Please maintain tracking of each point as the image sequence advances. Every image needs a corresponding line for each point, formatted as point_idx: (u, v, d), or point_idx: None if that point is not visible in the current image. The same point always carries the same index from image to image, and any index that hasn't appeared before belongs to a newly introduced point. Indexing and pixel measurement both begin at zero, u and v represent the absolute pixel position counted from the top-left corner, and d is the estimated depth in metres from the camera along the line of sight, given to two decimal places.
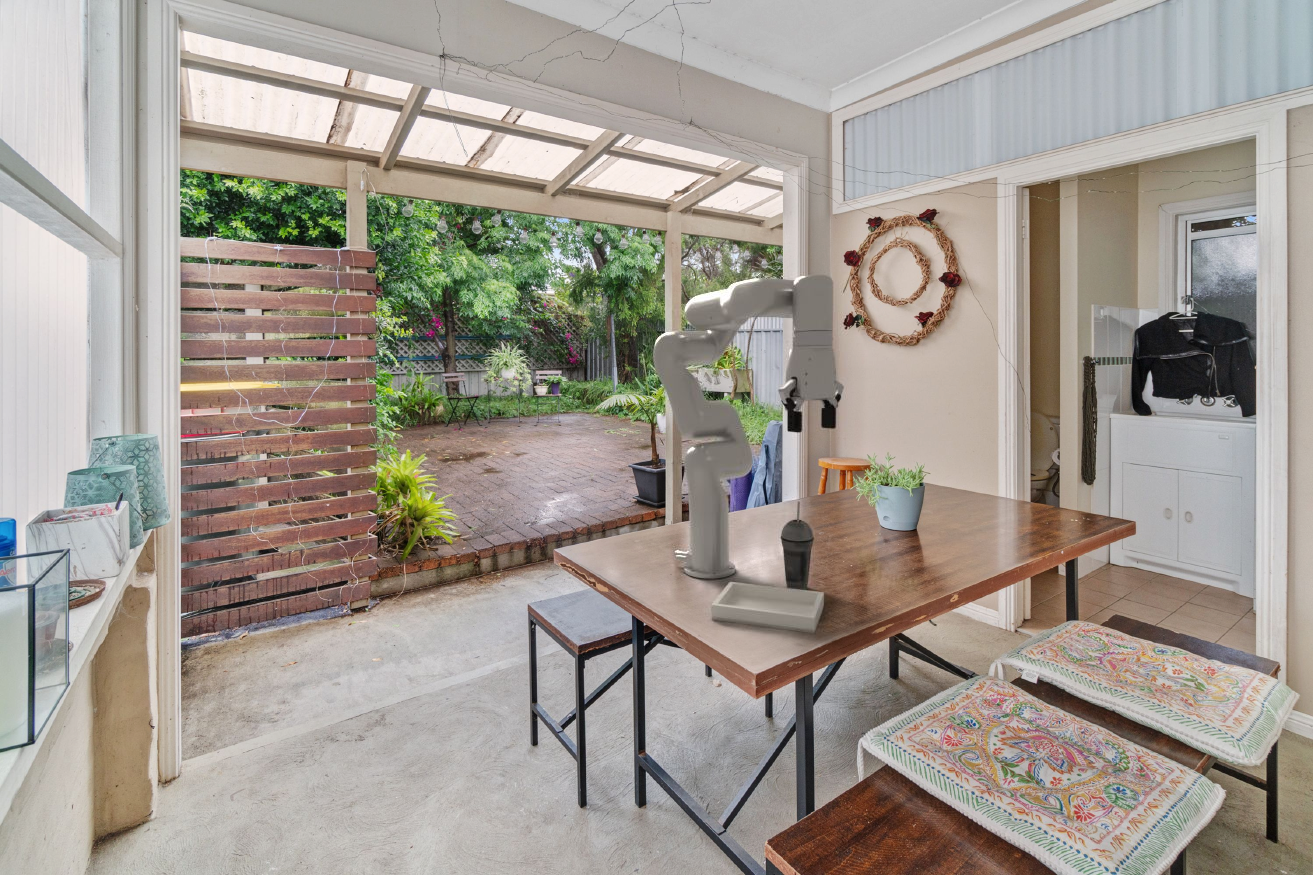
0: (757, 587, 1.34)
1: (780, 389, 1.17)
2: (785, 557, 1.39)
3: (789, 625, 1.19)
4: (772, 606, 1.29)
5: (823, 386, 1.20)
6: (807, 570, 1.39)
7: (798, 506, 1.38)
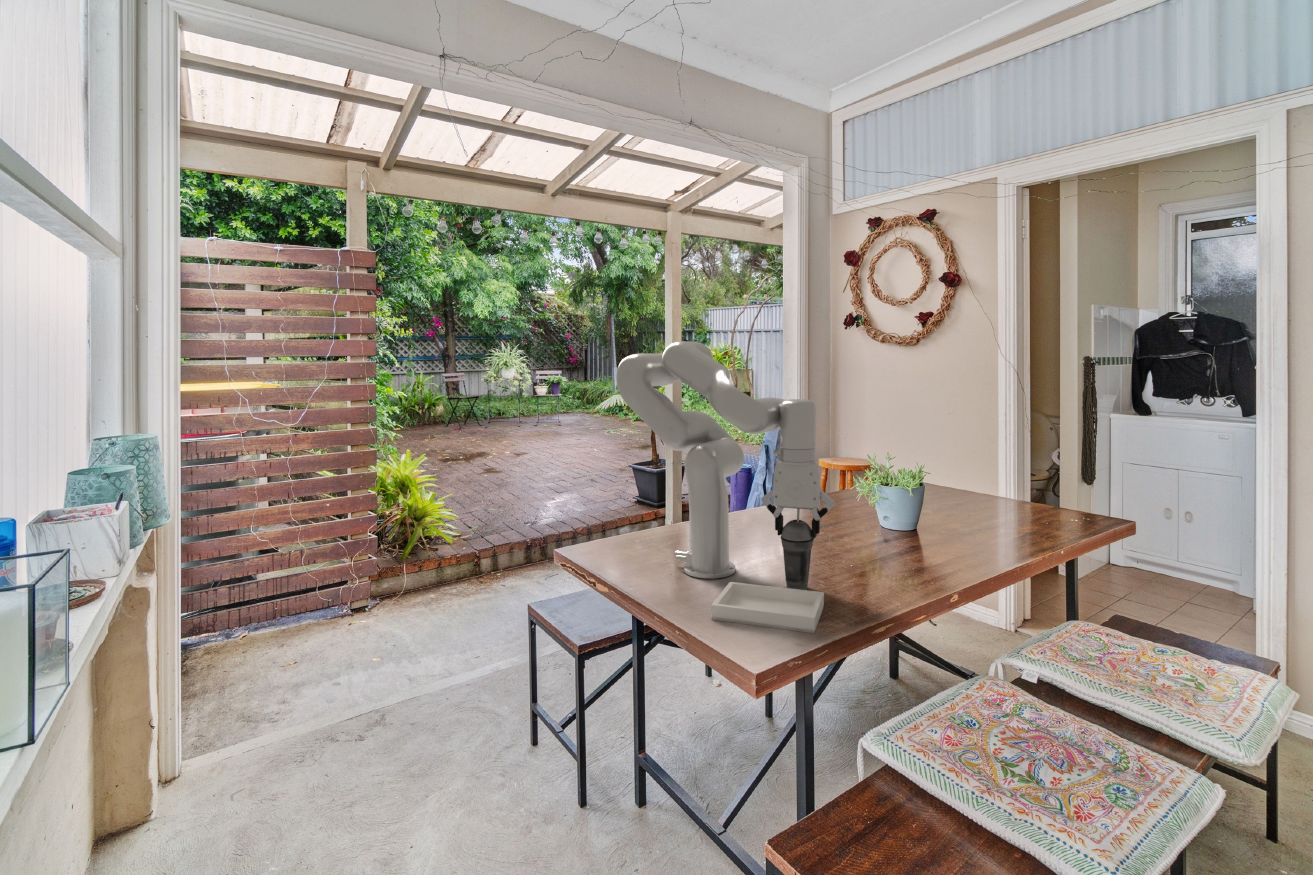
0: (757, 587, 1.34)
1: (834, 502, 1.36)
2: (785, 557, 1.39)
3: (789, 625, 1.19)
4: (772, 606, 1.29)
5: None
6: (807, 570, 1.39)
7: None
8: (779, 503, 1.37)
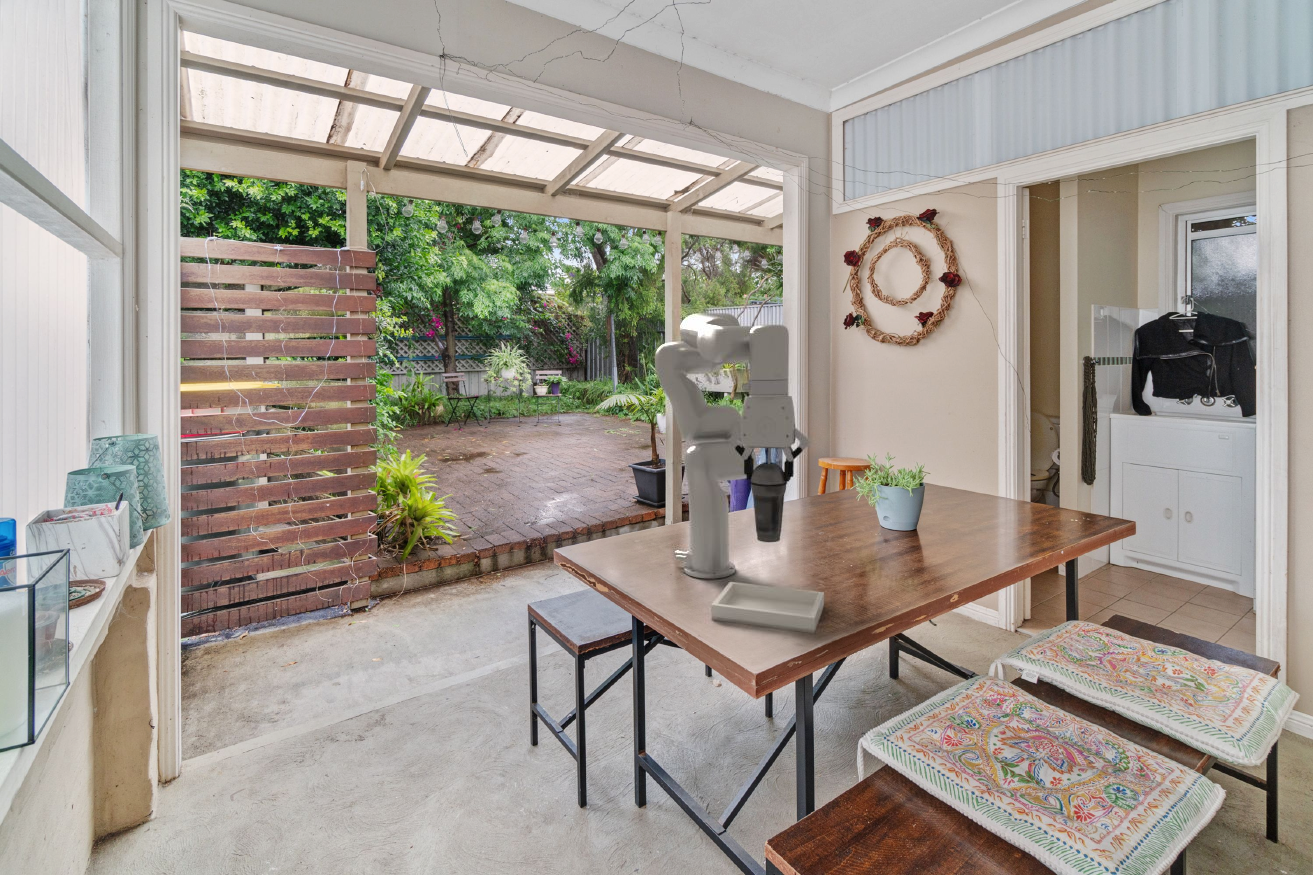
0: (757, 587, 1.34)
1: (809, 441, 1.20)
2: (755, 504, 1.24)
3: (789, 625, 1.19)
4: (772, 606, 1.29)
5: None
6: (779, 518, 1.23)
7: None
8: (748, 442, 1.22)
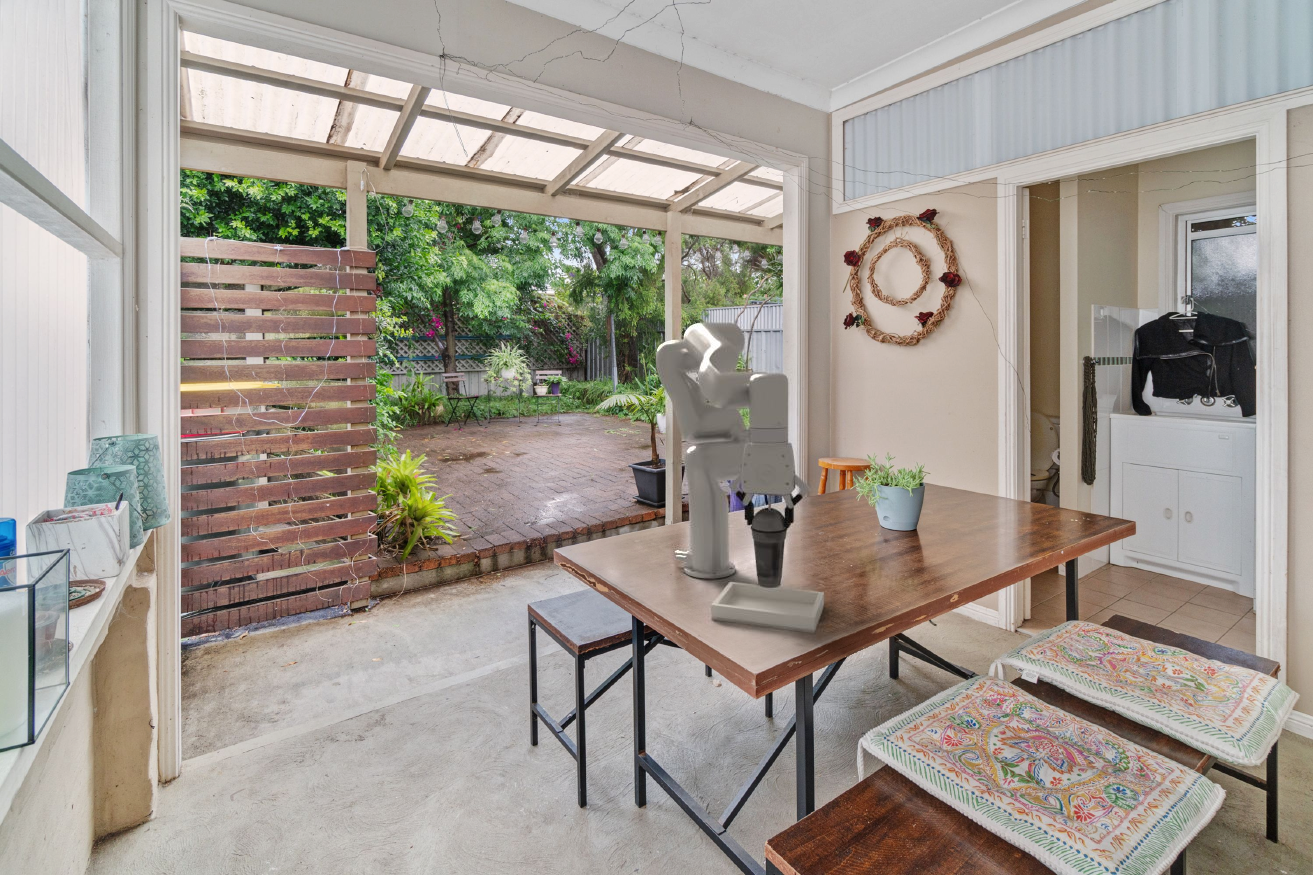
0: (757, 587, 1.34)
1: (809, 488, 1.21)
2: (756, 550, 1.25)
3: (789, 625, 1.19)
4: (772, 606, 1.29)
5: None
6: (780, 564, 1.24)
7: None
8: (748, 489, 1.23)
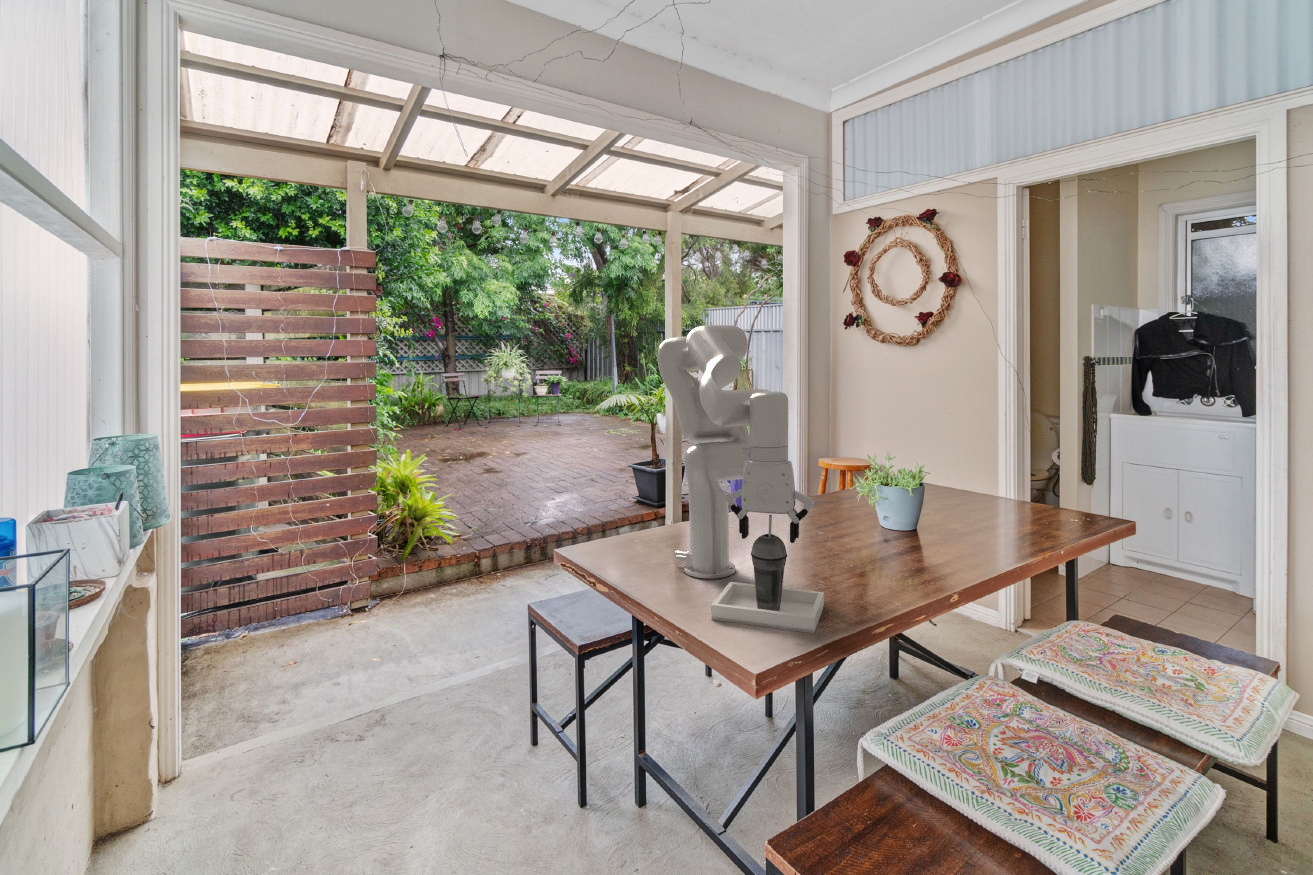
0: None
1: (812, 501, 1.21)
2: (755, 575, 1.26)
3: (789, 625, 1.19)
4: None
5: None
6: (779, 590, 1.25)
7: (770, 520, 1.24)
8: (748, 507, 1.24)
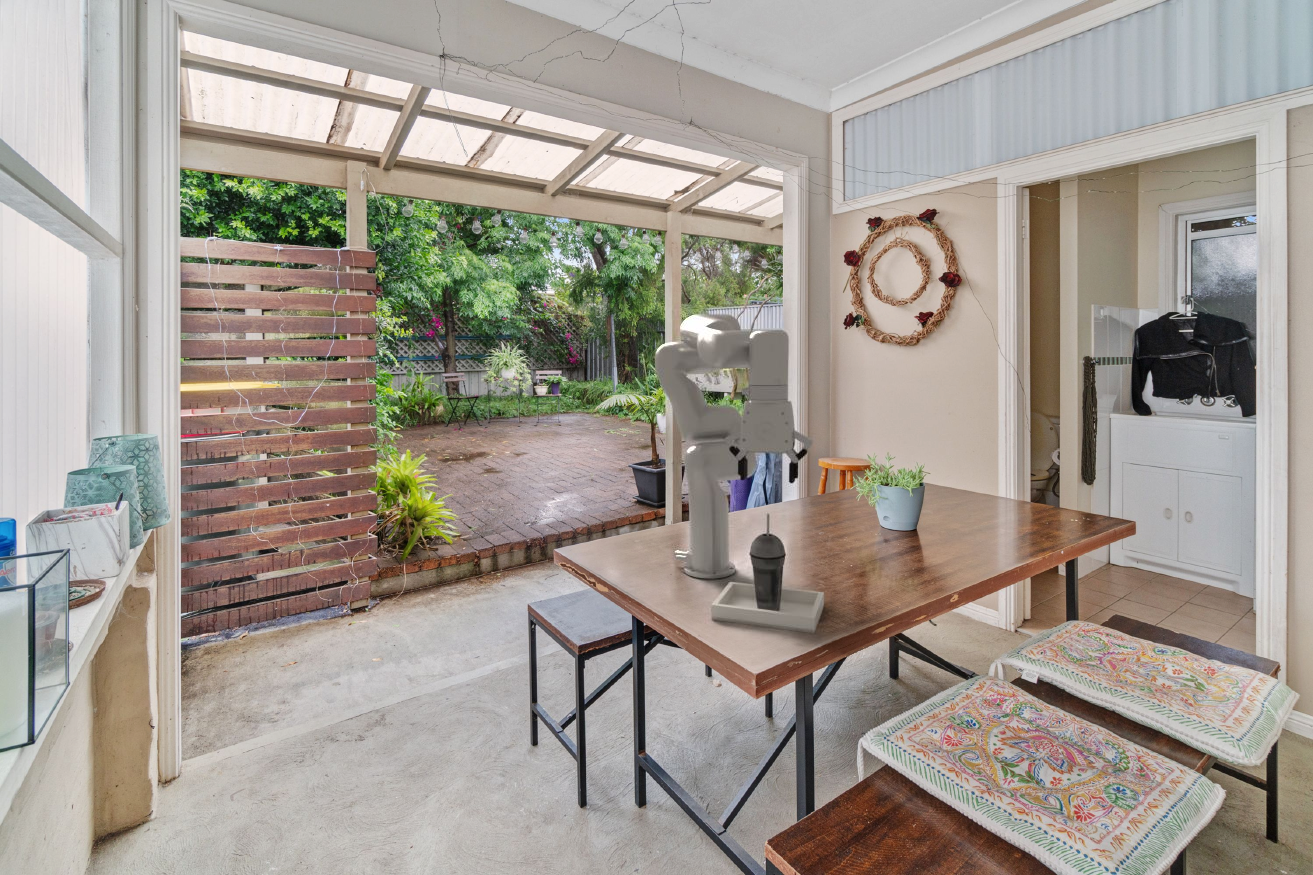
0: None
1: (812, 441, 1.20)
2: (754, 575, 1.26)
3: (789, 625, 1.19)
4: None
5: None
6: (779, 589, 1.25)
7: (767, 519, 1.24)
8: (747, 447, 1.22)
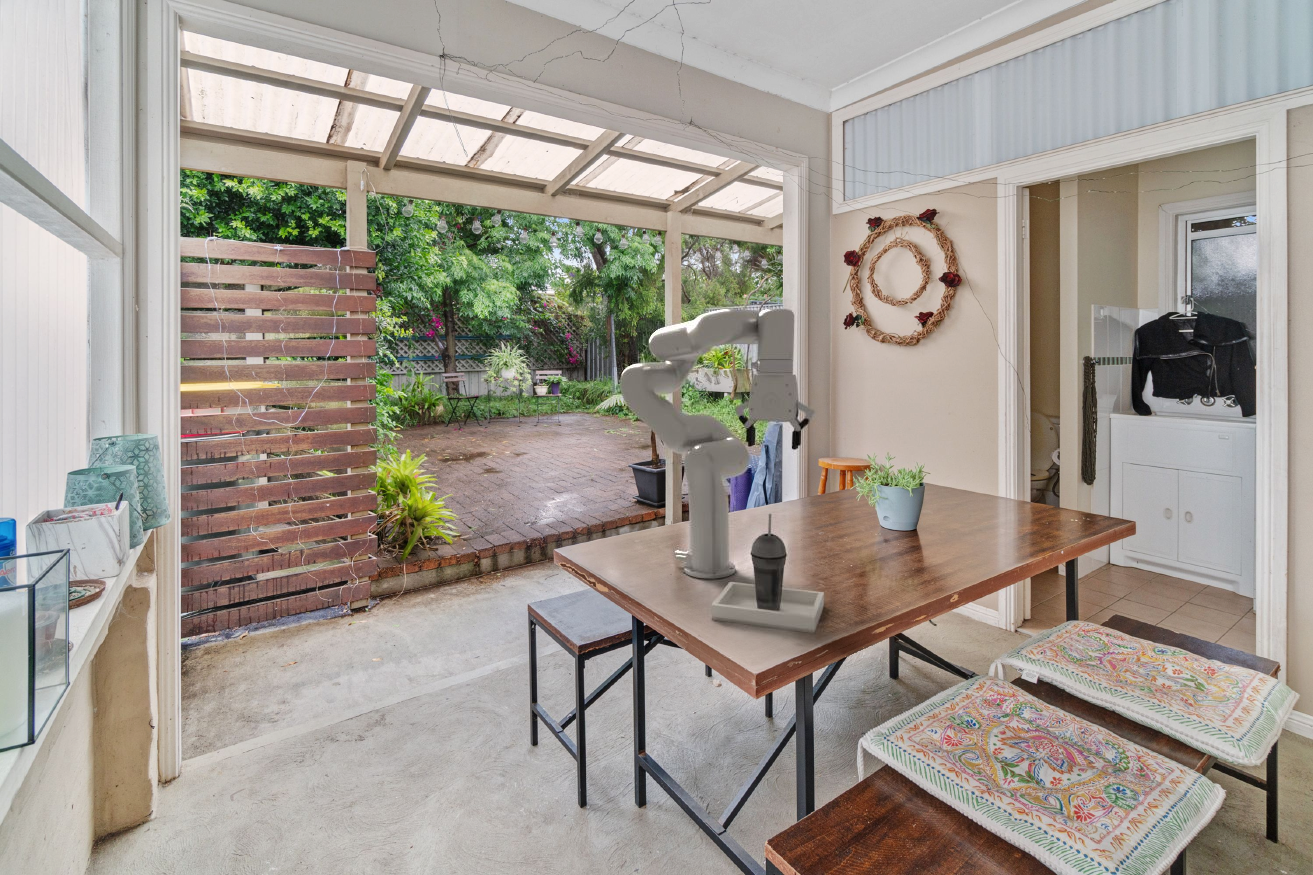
0: None
1: (813, 411, 1.31)
2: (755, 575, 1.26)
3: (789, 625, 1.19)
4: None
5: None
6: (779, 590, 1.25)
7: (769, 519, 1.24)
8: (754, 416, 1.34)
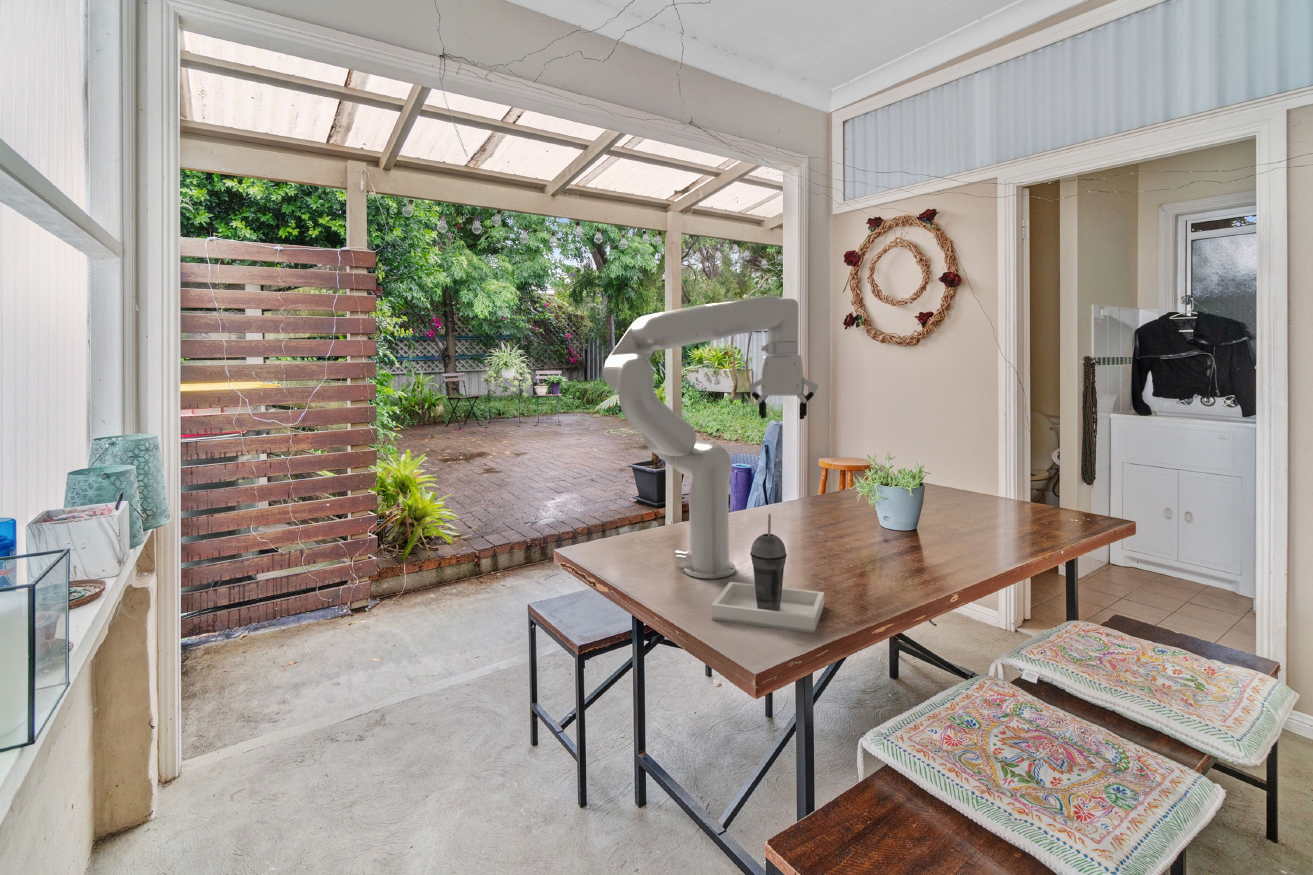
0: None
1: (817, 385, 1.54)
2: (755, 575, 1.26)
3: (789, 625, 1.19)
4: None
5: None
6: (779, 590, 1.25)
7: (769, 519, 1.24)
8: (766, 391, 1.56)
